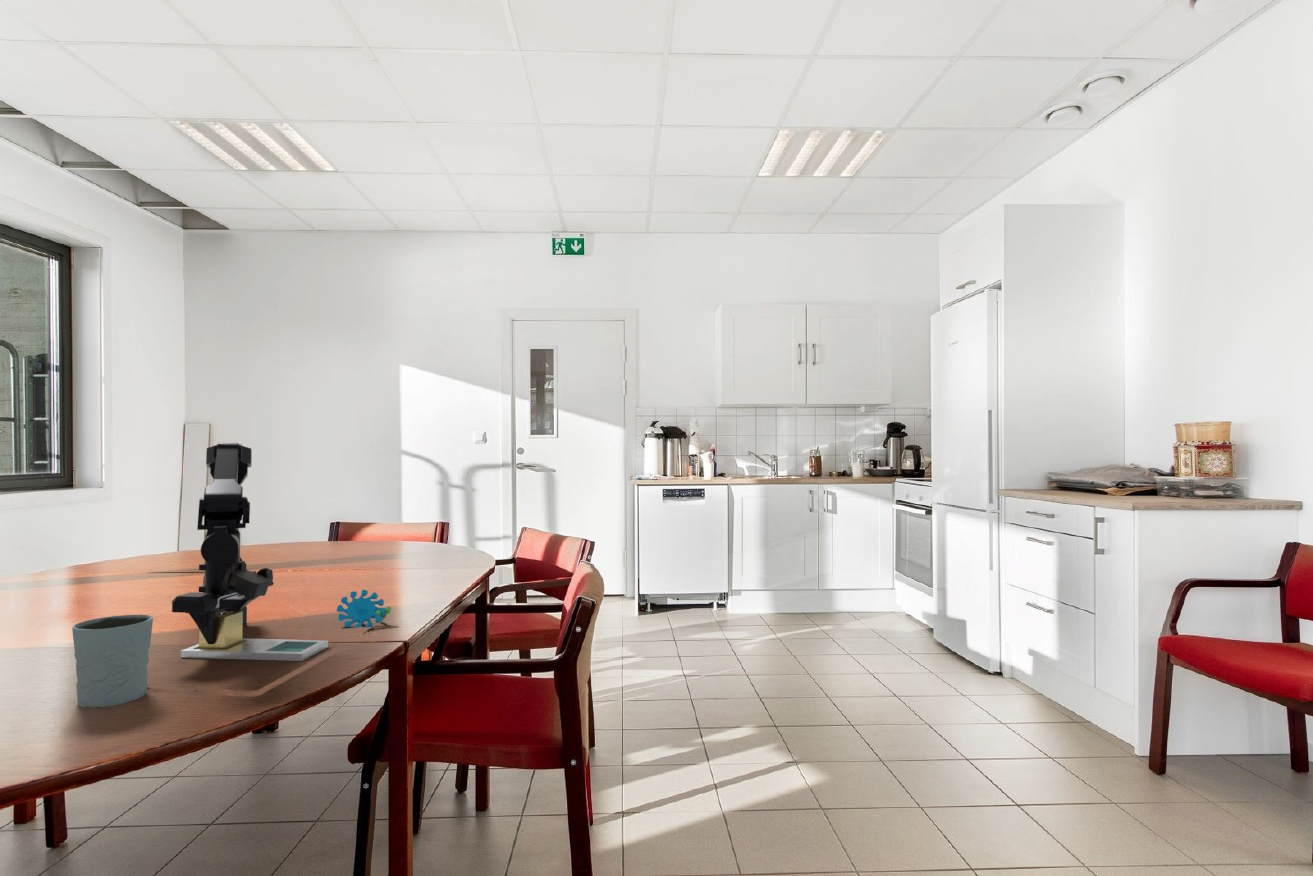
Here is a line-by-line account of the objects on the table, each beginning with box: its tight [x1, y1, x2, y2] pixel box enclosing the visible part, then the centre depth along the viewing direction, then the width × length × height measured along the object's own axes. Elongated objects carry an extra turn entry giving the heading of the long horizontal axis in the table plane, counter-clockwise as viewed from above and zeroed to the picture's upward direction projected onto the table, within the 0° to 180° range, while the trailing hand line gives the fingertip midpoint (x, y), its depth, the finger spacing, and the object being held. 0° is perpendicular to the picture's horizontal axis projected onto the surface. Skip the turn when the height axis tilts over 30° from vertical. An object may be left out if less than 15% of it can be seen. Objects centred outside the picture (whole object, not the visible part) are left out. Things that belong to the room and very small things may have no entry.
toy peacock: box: [336, 589, 392, 629], centre depth 157 cm, size 11×6×10 cm
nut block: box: [198, 611, 244, 650], centre depth 134 cm, size 5×5×7 cm
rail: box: [180, 637, 329, 662], centre depth 134 cm, size 23×9×2 cm, turn 86°
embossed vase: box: [71, 614, 154, 708], centre depth 111 cm, size 10×10×12 cm
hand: (221, 640), depth 134 cm, fingers closed on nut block, 5 cm apart
